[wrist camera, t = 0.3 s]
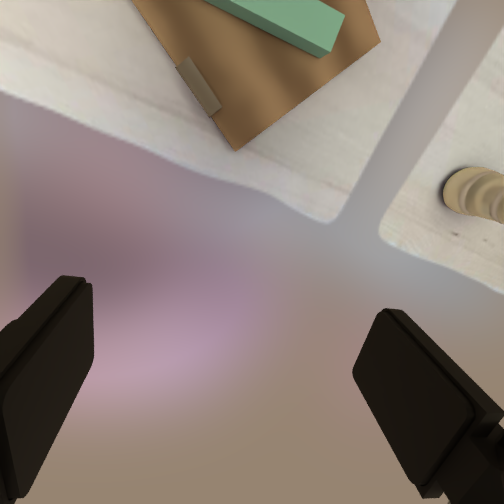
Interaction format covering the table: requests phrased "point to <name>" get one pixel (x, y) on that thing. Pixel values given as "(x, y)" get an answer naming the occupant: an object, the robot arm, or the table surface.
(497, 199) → the plastic bottle
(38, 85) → the table surface
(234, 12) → the folding leg
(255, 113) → the stool seat
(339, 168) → the table surface
